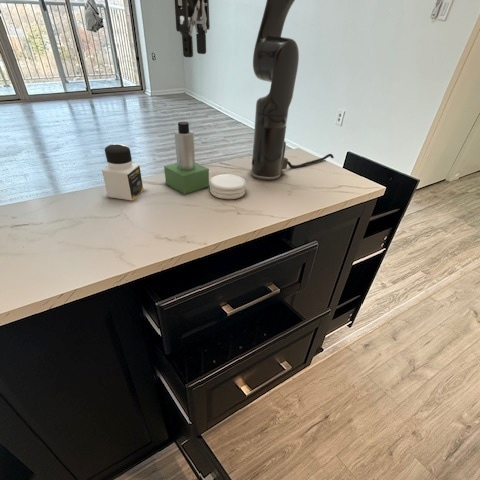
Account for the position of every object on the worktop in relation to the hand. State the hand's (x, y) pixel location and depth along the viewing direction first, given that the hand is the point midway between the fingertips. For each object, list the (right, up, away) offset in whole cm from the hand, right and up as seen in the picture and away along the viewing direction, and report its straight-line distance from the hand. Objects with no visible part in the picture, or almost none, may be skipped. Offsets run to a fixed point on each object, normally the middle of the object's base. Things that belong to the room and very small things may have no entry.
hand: (195, 55), depth 77 cm
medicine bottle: (-20, -30, +10) cm, 37 cm away
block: (-5, -24, +16) cm, 30 cm away
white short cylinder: (+7, -28, +14) cm, 32 cm away
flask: (-4, -21, +13) cm, 25 cm away
